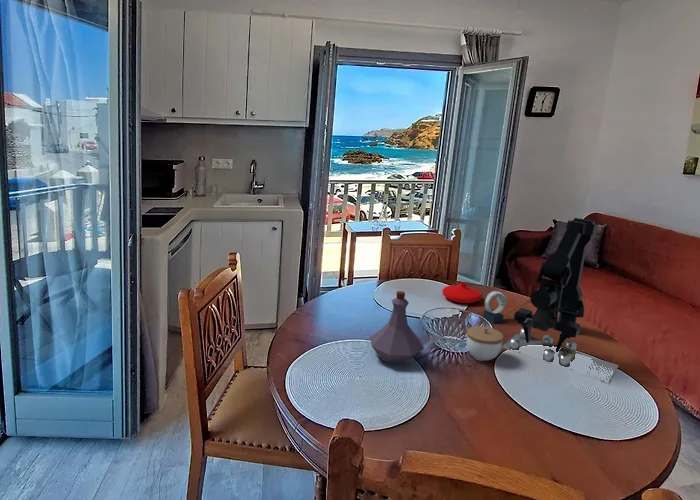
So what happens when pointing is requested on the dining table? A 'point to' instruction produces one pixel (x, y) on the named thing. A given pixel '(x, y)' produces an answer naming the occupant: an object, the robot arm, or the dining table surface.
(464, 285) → the red disc with nozzle
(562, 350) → the nut
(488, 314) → the grey ring on stand
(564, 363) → the spacers
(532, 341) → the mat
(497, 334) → the lidded jar
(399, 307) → the flask
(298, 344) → the dining table surface
